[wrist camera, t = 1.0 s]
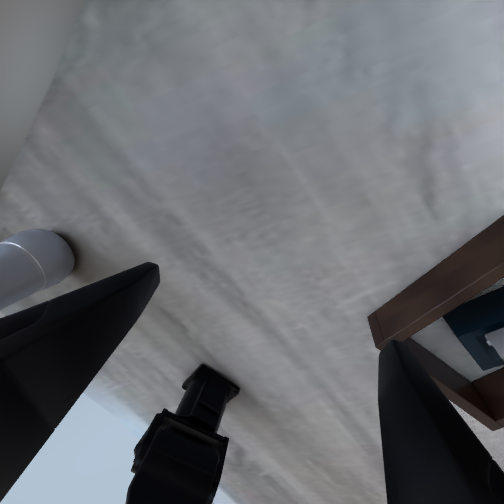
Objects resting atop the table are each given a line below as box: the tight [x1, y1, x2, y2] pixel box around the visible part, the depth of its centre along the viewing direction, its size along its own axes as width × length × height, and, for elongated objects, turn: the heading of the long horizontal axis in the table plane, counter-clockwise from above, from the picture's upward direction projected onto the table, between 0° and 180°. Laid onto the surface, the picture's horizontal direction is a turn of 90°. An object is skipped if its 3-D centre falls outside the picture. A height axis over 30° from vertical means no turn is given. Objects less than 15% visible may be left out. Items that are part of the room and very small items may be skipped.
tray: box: [367, 216, 504, 431], centre depth 21 cm, size 14×14×4 cm
